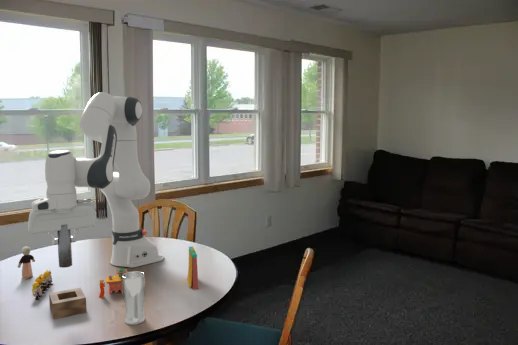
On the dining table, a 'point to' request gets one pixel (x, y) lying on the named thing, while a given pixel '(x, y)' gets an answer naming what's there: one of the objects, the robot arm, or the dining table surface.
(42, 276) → the figurine set
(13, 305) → the dining table surface
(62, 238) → the metal peg
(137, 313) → the beer glass
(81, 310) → the wooden block with hole
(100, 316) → the dining table surface
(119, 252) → the robot arm
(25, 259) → the grandmother figurine
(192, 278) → the toy building block set
